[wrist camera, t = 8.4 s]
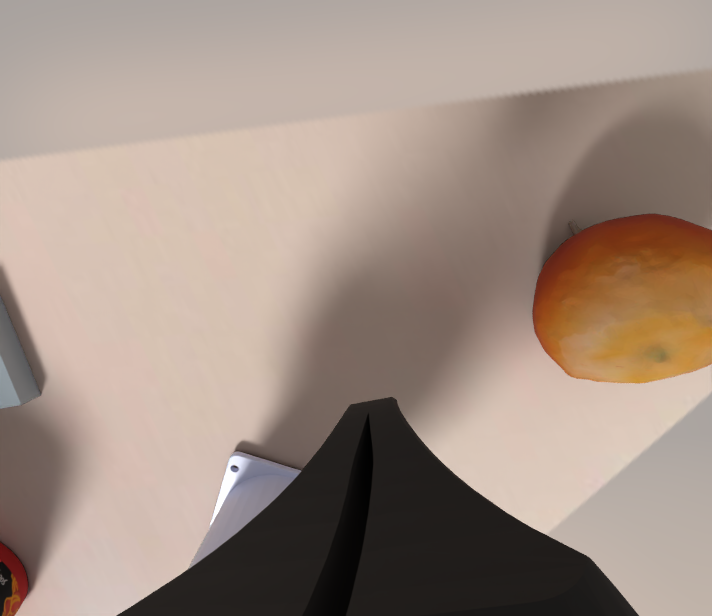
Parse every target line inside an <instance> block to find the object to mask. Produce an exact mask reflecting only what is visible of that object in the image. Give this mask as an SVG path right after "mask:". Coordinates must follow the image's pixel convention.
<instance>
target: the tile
mask: <svg viewBox="0 0 712 616" xmlns="http://www.w3.org/2000/svg"><path fill="white" fill-rule="evenodd" d="M40 395H41V393H40V391H39V388H38V386H37V383H36V381H35V379H34V376H33V374H32V371H31V369H30V366H29V364H28V361H27V359H26V357H25V354H24V352H23V349H22V347H21V344H20V342H19V339H18V337H17V335H16V332H15V330H14V327H13V325H12V322H11V320H10V317H9V315H8V313H7V310H6V308H5V305H4V303H3V300H2V298H1V295H0V409H1V408H7V407H13V406H18V405H22V404H24V403H26V402H28V401H30V400H32V399H34V398H36V397H38V396H40Z"/></svg>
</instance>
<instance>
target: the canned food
mask: <svg viewBox="0 0 712 616" xmlns="http://www.w3.org/2000/svg"><path fill="white" fill-rule="evenodd" d="M27 591H28V580H27V575H26V572H25V569H24V567H23V565H22V564H21V562H20V560H19V559H18V558H17V557H16V555H15V554H14V553H13V552H12V551H11V550H10V549H8V548H7V547H6V546H5V545H3V544H2V543H0V616H14V615H15V614H16V613H17V611H18V609H19V608H20V606H21V604H22V603H23V601H24V599H25V597H26V594H27Z"/></svg>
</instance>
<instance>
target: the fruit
mask: <svg viewBox="0 0 712 616" xmlns="http://www.w3.org/2000/svg"><path fill="white" fill-rule="evenodd" d="M569 225H570V227H571V229H572V232H573V234H574V235H573V236H572V237H570V238H569V239H568V240H566V241H565V242H564V243H562V244H561V246H560V247H559V248H558V249H557V250H556V251H555V252H554V253H553V254H552V256H551V257H550V258H549V259H548V260H547V261H546V263H545V264H544V266H543V269H542V271H541V273H540V274H539V277H538V280H537V285H536V290H535V296H534V304H533V323H534V329H535V333H536V336H537V338H538V339H539V341H540V343H541V345H542V347H543V349H544V350H545V352H546V353H547V354H548V355H549V356H550V357H551V358H552V359H553V360H554V361H555V362H556V363H557V364H558V365H559V366H560V367H561V368H562V369H563V370H564V371H565V373H567V374H568V375H569V376H571V377H574V378H577V379H588V380H593V381H597V382H613V383H647V382H652V381H657V380H662V379H666V378H671V377H675V376H678V375H681V374H686V373H690V372H693V371H696V370H698V369H701V368H704V367H706V366H708V365H710V364H712V230H709V229H707V228H704V227H701V226H698V225H696V224H693V223H690V222H687V221H685V220H682V219H678V218H675V217H671V216H666V215H659V214H643V215H636V216H629V217H624V218H618V219H613V220H609V221H605V222H602V223H599V224H596V225H593V226H591V227H589V228H586V229H584V230H582V229H579V228H578V227H577V225H576V224H575V222H574V221H572V222H570V221H569Z"/></svg>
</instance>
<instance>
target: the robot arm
mask: <svg viewBox="0 0 712 616" xmlns="http://www.w3.org/2000/svg"><path fill="white" fill-rule="evenodd" d="M233 465H236V466H238V468H235V467H234V466H233ZM117 616H639V615H638V614H637V613H636V612H635V610H634V609H633V608H632V607H631V605H630V604H629V603H628V602H627V600H626V599H625V598H624V597H623V595H622V594H621V593H620V592H619V591H618V589H617V588H616V587H615V586H614V585H613V584H612V582H611V581H610V580H609V579H608V578H607V577H606V576H605V575H604V573H603V572H602V571H601V570H600V569H599V567H598V566H597V565H596V564H595V563H594V562H593V561H592V560H591V559H590V558H589V557H587V556H586V555H584V554H582V553H580V552H578V551H576V550H574V549H572V548H570V547H568V546H566V545H564V544H562V543H560V542H558V541H557V540H555V539H553V538H551V537H549V536H547V535H545V534H543V533H541V532H539V531H537V530H535V529H533V528H531V527H529V526H528V525H526V524H524V523H523V522H521V521H519V520H518V519H516V518H514V517H513V516H511V515H509V514H508V513H506V512H505V511H503V510H502V509H500V508H499V507H498V506H496V505H495V504H493V503H492V502H491V501H489V500H488V499H486V498H485V497H483V496H482V495H481V494H479V493H478V492H476V491H475V490H474V489H472V488H471V487H470V486H468V485H467V484H466V483H465V482H464V481H462V480H461V479H460V478H459V477H458V476H456V475H455V474H454V473H453V472H452V471H451V470H450V469H449V468H447V467H446V466H445V465H444V464H443V463H442V462H441V461H440V460H439V459H438V458H437V457H436V456H435V455H434V454H433V453H432V452H431V451H430V450H429V448H428V447H427V446H426V445H425V444H424V443H423V442H422V441H421V439H420V438H419V437H418V436H417V434H416V433H415V432H414V430H413V429H412V428H411V426H410V425H409V424H408V422H407V421H406V419H405V418H404V416H403V414H402V413H401V411H400V409H399V407H398V404H397V400H396V399H394V398H393V397H389V398H384V399H378V400H373V401H367V402H362V403H357V404H351V405H350V406H349V408H348V409H347V410H346V412H345V413H344V415H343V416H342V418H341V419H340V421H339V422H338V424H337V425H336V427H335V428H334V430H333V431H332V432H331V434H330V435H329V437H328V438H327V439H326V441H325V442H324V444H323V445H322V446H321V448H320V449H319V450H318V452H317V453H316V454H315V455H314V456H313V458H312V459H311V460H310V461H309V463H308V464H307V465H306V466H305V468H304V469H303V470H302V471H301V470H297V469H294V468H291V467H288V466H284V465H281V464H278V463H275V462H271V461H268V460H265V459H262V458H259V457H255V456H252V455H249V454H246V453H242V452H238V451H237V452H234V453H233V454H232V455H231V456H230V458H229V461H228V464H227V468H226V471H225V475H224V478H223V482H222V485H221V489H220V492H219V496H218V499H217V503H216V506H215V510H214V513H213V517H212V520H211V524H210V527H209V530H208V532H207V534H206V536H205V538H204V540H203V541H202V543H201V545H200V547H199V549H198V551H197V553H196V555H195V557H194V558H193V560H192V562H191V564H190V566H189V568H188V570H186V571H185V572H184V573H182V574H181V575H179V576H178V577H176V578H175V579H173V580H172V581H170V582H169V583H167V584H166V585H164V586H162V587H161V588H159V589H158V590H156V591H155V592H153V593H152V594H150V595H148V596H147V597H145V598H144V599H142V600H141V601H139V602H138V603H136V604H135V605H133V606H131V607H130V608H128V609H127V610H125V611H123V612H122V613H120V614H118V615H117Z"/></svg>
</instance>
